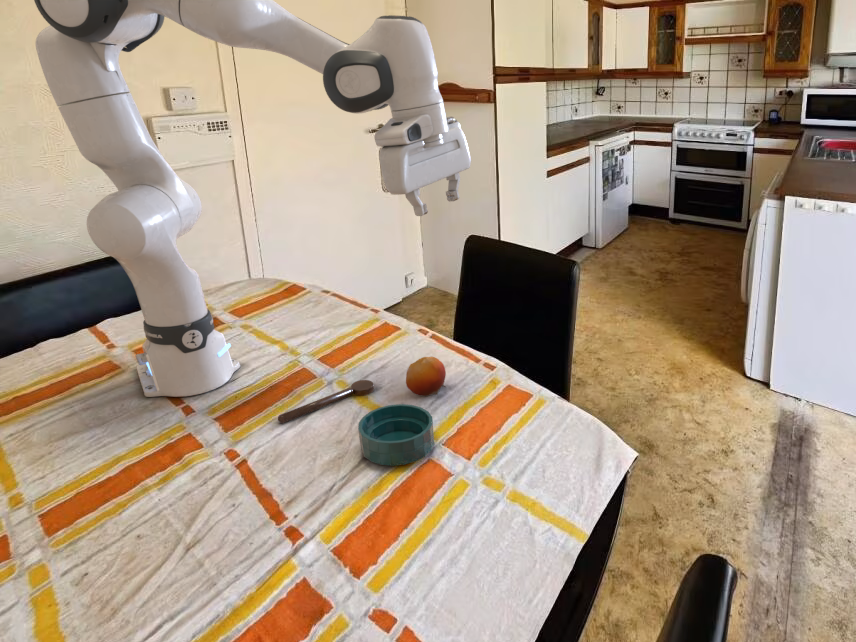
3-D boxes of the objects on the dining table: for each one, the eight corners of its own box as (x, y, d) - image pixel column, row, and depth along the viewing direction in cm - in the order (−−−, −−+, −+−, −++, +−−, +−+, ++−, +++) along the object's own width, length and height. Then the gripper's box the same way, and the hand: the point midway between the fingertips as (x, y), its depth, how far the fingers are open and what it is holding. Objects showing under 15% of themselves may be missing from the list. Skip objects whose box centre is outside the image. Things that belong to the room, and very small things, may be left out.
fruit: (449, 396, 119) (426, 362, 116) (416, 411, 122) (393, 378, 119) (460, 377, 126) (438, 344, 123) (429, 391, 129) (407, 360, 126)
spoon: (273, 419, 114) (271, 412, 113) (366, 382, 127) (365, 375, 126) (284, 428, 111) (283, 421, 111) (378, 390, 124) (377, 383, 123)
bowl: (347, 447, 106) (344, 422, 104) (405, 420, 114) (403, 397, 111) (389, 478, 99) (386, 452, 96) (448, 447, 106) (447, 422, 104)
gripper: (443, 116, 113) (457, 192, 120) (366, 137, 99) (387, 223, 105) (471, 112, 110) (484, 192, 117) (396, 135, 96) (416, 224, 102)
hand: (438, 207), depth 111 cm, fingers open, 8 cm apart
